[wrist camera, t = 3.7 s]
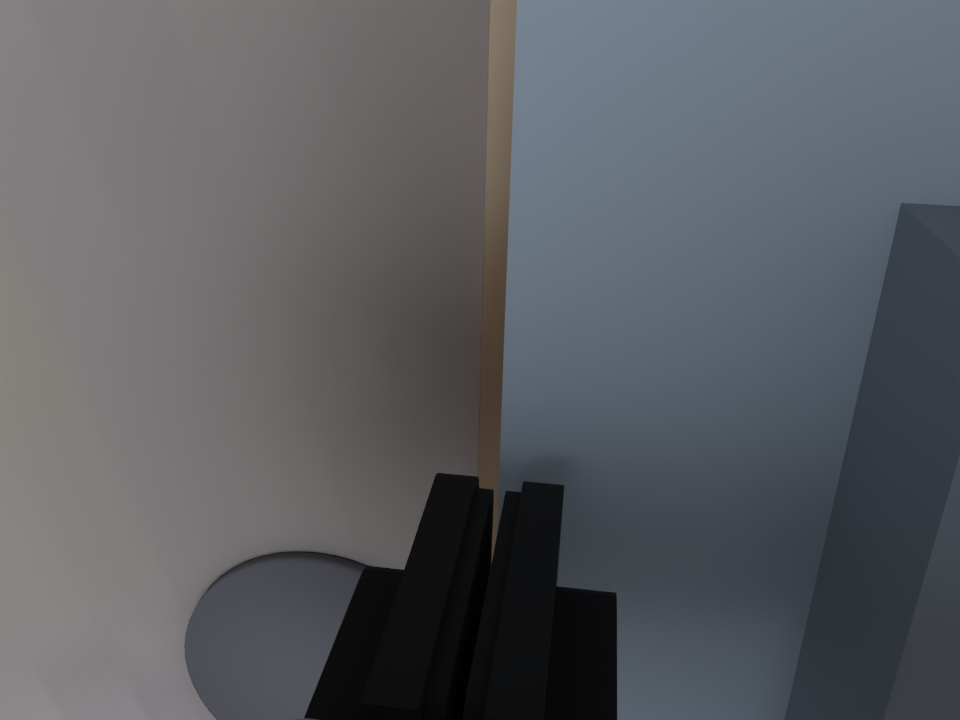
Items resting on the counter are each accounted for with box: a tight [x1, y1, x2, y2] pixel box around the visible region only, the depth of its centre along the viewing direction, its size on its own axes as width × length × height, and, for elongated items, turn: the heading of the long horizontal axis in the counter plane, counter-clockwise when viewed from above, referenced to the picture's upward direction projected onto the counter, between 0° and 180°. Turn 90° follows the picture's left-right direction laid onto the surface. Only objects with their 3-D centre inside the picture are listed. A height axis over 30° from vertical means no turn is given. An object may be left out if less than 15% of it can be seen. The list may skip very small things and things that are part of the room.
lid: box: [497, 0, 960, 720], centre depth 11 cm, size 10×17×4 cm, turn 178°
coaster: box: [185, 552, 367, 720], centre depth 23 cm, size 7×7×1 cm
